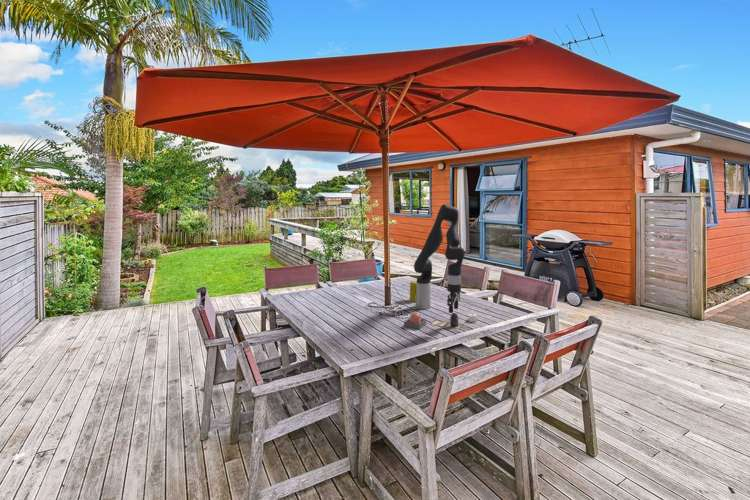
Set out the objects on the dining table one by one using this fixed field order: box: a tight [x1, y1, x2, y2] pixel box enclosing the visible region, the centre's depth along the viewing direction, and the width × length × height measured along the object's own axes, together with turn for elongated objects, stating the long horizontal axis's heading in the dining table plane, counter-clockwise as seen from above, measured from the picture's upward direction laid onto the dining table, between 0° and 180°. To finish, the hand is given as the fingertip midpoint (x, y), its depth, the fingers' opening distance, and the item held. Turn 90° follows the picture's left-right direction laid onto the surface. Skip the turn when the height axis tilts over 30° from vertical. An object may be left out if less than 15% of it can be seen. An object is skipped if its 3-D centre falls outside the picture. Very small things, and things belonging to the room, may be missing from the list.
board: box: [428, 319, 465, 330], centre depth 212 cm, size 18×10×1 cm, turn 60°
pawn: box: [449, 312, 459, 327], centre depth 209 cm, size 4×4×7 cm
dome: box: [409, 312, 422, 323], centre depth 210 cm, size 6×6×6 cm
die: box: [468, 313, 478, 323], centre depth 218 cm, size 4×4×4 cm
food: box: [409, 280, 417, 302], centre depth 269 cm, size 15×12×10 cm
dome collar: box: [403, 317, 427, 330], centre depth 211 cm, size 10×10×4 cm
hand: (453, 310), depth 209 cm, fingers open, 8 cm apart
